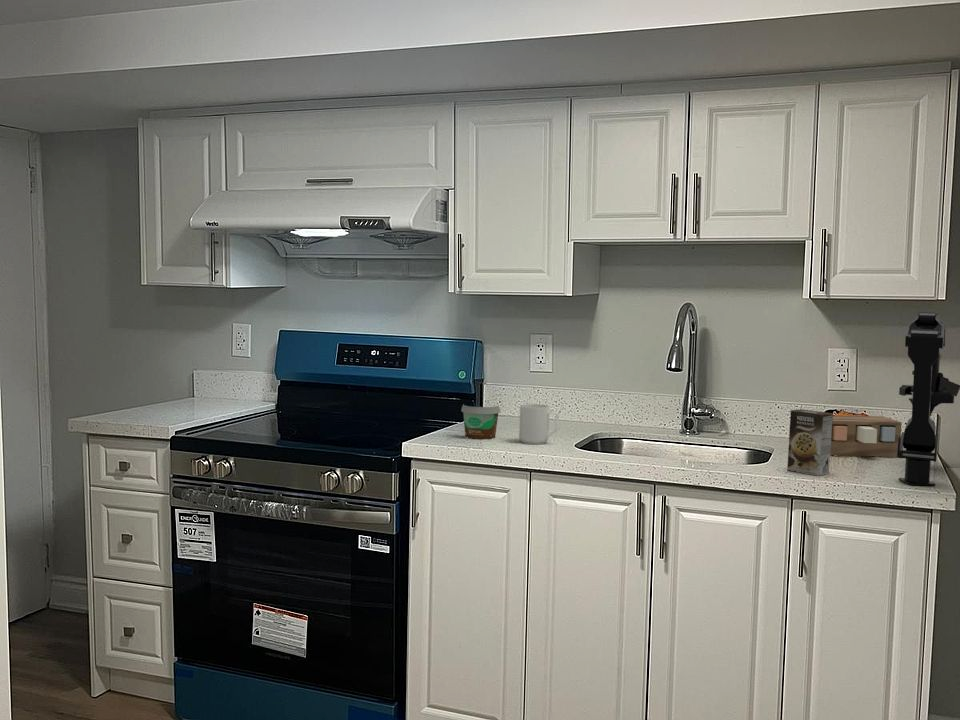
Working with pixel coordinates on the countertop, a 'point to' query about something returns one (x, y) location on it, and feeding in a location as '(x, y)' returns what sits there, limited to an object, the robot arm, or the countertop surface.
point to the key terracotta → (839, 432)
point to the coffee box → (810, 442)
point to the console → (860, 448)
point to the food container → (480, 421)
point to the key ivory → (866, 434)
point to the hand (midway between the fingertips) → (923, 425)
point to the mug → (535, 423)
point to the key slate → (887, 433)
